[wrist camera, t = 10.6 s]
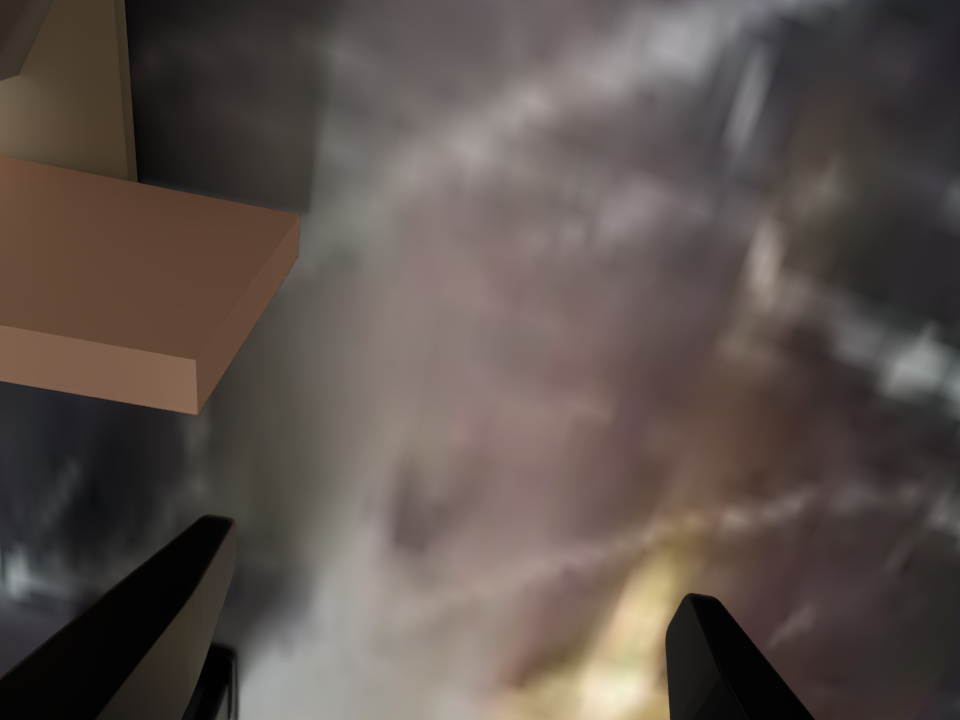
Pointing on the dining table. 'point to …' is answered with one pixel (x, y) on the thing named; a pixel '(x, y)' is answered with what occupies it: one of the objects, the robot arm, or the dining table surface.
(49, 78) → the dock
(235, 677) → the robot arm
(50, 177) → the block
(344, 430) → the dining table surface
